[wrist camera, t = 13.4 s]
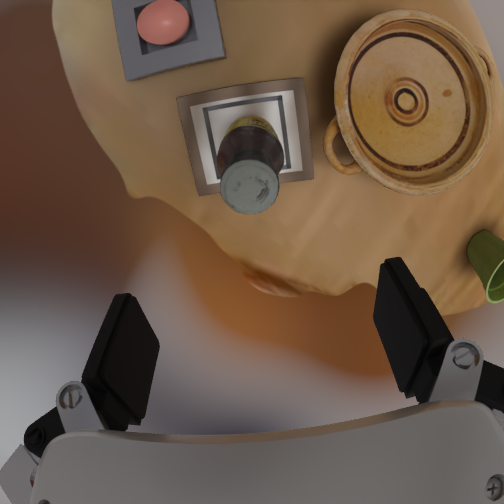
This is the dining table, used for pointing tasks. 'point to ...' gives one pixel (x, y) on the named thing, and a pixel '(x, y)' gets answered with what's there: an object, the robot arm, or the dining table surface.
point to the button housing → (173, 56)
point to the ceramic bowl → (411, 103)
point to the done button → (164, 22)
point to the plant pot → (488, 263)
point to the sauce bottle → (250, 165)
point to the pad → (239, 105)
